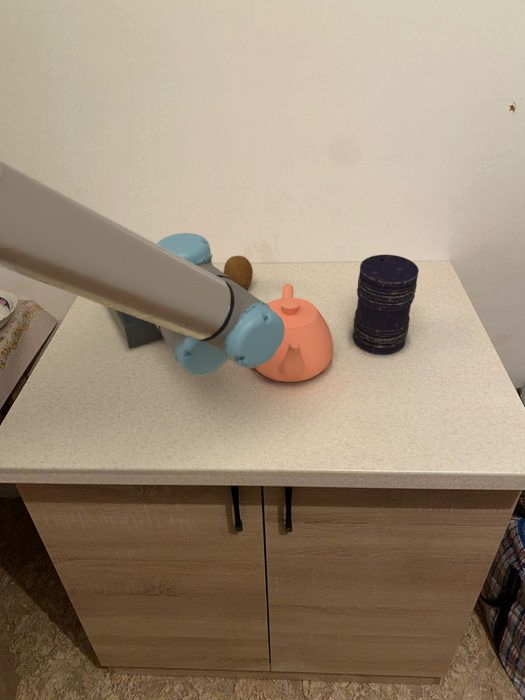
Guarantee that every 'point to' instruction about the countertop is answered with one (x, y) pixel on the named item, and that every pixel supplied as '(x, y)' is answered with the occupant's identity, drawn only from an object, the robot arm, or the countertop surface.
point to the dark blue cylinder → (384, 303)
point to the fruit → (239, 270)
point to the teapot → (299, 341)
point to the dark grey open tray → (135, 329)
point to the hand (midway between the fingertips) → (131, 248)
